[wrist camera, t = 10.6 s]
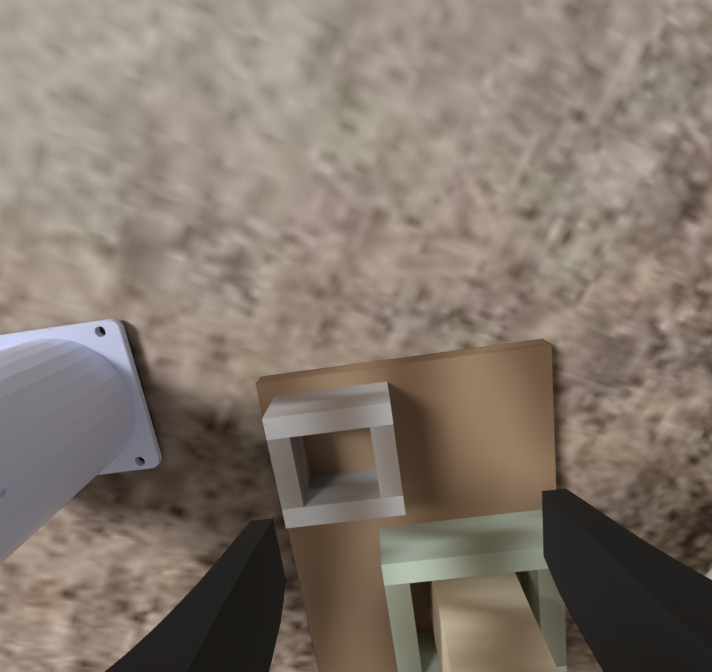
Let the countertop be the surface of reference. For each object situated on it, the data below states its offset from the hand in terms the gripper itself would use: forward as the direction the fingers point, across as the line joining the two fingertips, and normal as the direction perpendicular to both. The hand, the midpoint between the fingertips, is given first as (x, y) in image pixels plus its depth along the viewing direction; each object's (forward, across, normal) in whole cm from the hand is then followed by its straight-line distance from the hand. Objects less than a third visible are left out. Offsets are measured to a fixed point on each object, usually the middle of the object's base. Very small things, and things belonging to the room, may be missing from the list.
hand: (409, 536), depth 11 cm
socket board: (+10, -1, +8) cm, 13 cm away
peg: (+9, -3, +11) cm, 15 cm away
